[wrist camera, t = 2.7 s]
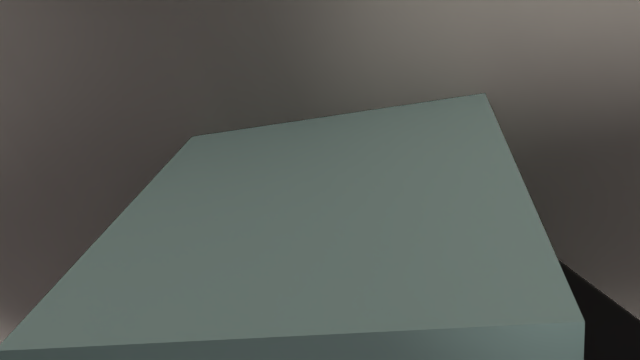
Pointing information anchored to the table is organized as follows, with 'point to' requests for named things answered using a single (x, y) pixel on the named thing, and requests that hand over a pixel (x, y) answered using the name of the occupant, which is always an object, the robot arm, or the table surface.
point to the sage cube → (322, 251)
